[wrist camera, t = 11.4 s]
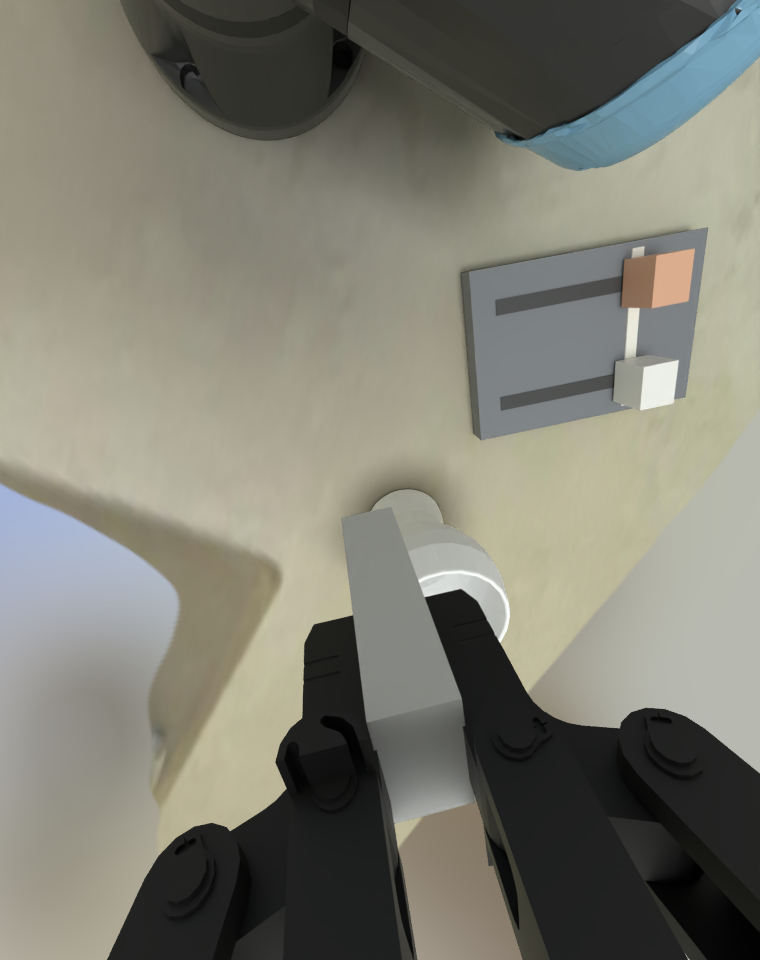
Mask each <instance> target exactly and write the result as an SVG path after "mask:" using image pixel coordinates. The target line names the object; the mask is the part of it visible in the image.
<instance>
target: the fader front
mask: <svg viewBox="0 0 760 960" xmlns="http://www.w3.org/2000/svg"><path fill="white" fill-rule="evenodd" d="M694 253H695V248H694V249H687V250H679V251H671V252H663V253H657V254H652V255H646V256H641V257H636V258H630V259H625V260H624V274H623V290H622V305H621V307H623V308H656V307H661V306H667V305H672V304H677V303H682V302H687V301H689V293H690V285H691V277H692V269H693V261H694Z"/></svg>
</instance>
